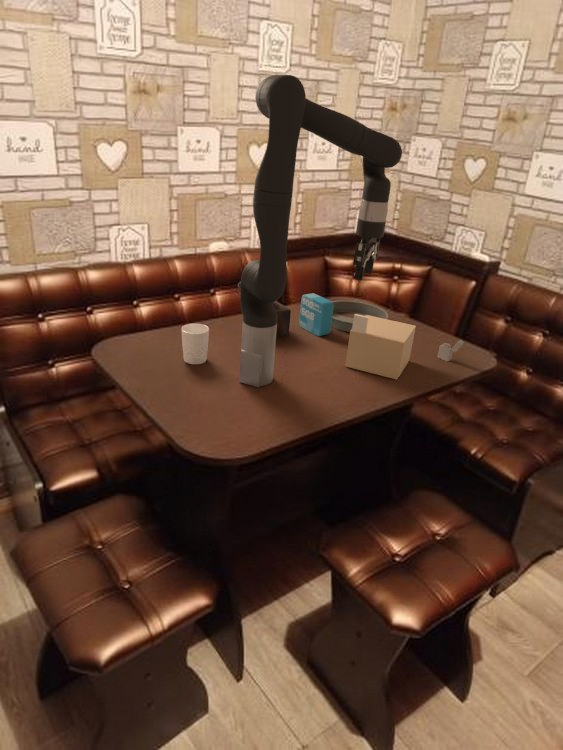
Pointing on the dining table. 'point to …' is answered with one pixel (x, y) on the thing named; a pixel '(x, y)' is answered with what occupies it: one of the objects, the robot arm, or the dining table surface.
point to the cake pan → (354, 307)
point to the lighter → (448, 350)
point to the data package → (316, 314)
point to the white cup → (195, 343)
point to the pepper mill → (280, 318)
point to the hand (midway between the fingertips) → (363, 276)
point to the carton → (393, 334)
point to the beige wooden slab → (373, 351)
